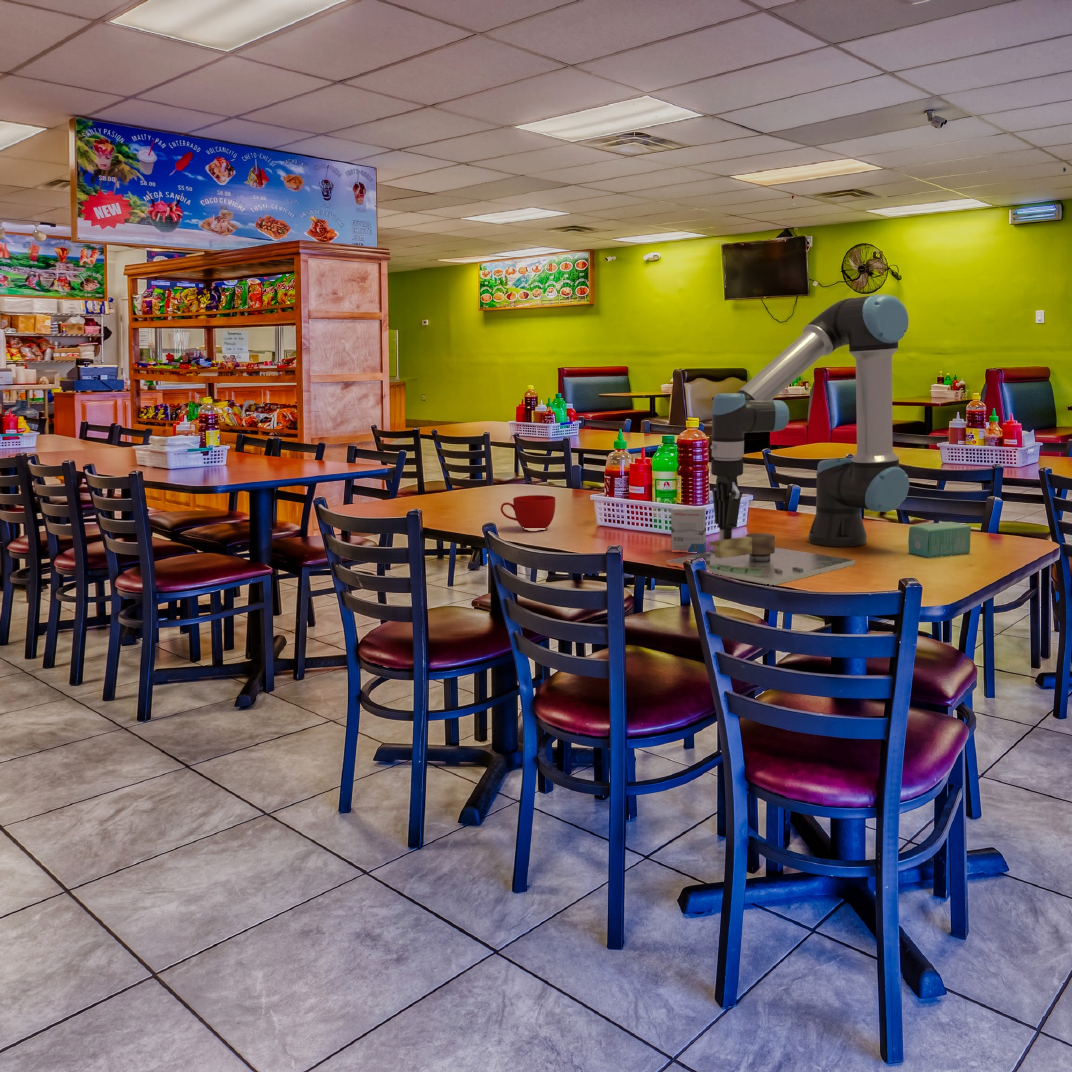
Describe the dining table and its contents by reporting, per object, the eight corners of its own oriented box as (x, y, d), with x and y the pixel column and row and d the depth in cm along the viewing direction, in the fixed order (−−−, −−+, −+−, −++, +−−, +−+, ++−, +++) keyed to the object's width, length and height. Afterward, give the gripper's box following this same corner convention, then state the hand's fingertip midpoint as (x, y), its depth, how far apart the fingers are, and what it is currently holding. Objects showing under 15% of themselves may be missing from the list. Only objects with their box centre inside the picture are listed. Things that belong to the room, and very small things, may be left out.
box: (906, 553, 242) (908, 524, 241) (948, 549, 246) (950, 521, 245) (927, 558, 235) (929, 529, 234) (970, 554, 240) (972, 525, 238)
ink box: (706, 550, 252) (706, 507, 250) (703, 554, 247) (703, 509, 245) (674, 549, 255) (674, 506, 253) (670, 552, 250) (670, 509, 248)
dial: (761, 548, 236) (761, 532, 235) (780, 552, 230) (781, 536, 229) (701, 556, 228) (701, 540, 227) (719, 561, 221) (719, 544, 221)
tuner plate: (748, 547, 254) (748, 536, 254) (854, 564, 230) (855, 552, 229) (666, 565, 234) (666, 553, 234) (772, 585, 210) (773, 572, 209)
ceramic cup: (499, 528, 296) (498, 496, 295) (553, 525, 298) (552, 494, 297) (502, 535, 284) (501, 502, 282) (558, 532, 286) (558, 499, 284)
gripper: (702, 456, 231) (700, 550, 236) (723, 462, 219) (721, 561, 224) (730, 455, 233) (728, 548, 238) (753, 460, 221) (750, 559, 225)
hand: (725, 554), depth 231 cm, fingers closed
